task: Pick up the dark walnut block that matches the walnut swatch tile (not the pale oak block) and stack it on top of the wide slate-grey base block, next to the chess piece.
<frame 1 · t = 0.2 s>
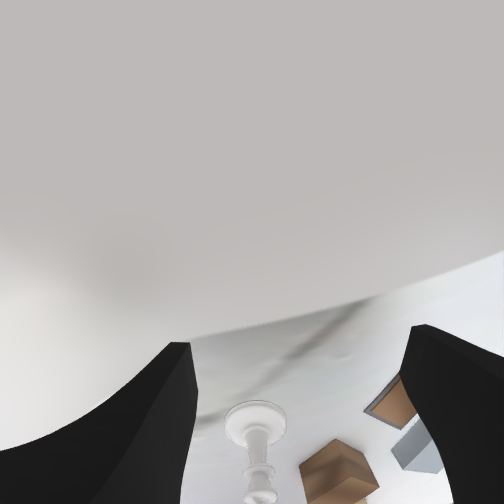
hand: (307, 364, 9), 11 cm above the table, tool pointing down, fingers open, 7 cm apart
chess piece: (255, 421, 21), on the table
base block: (429, 429, 22), on the table
walnut block: (331, 459, 22), on the table
walnut swatch: (404, 397, 21), on the table
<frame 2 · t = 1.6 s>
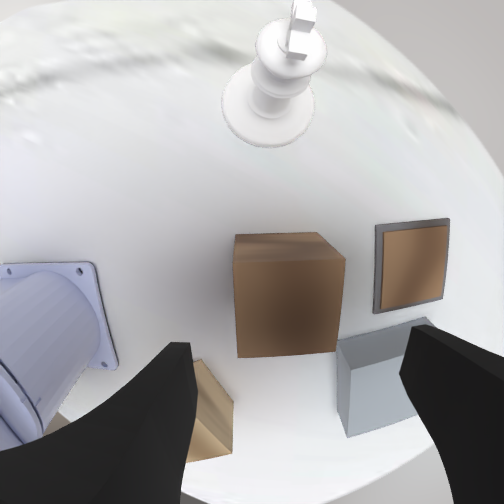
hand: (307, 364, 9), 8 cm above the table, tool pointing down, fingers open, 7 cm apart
chess piece: (267, 104, 14), on the table
oak block: (191, 390, 19), on the table
base block: (379, 364, 19), on the table
walnut block: (276, 271, 17), on the table
walnut swatch: (413, 265, 17), on the table
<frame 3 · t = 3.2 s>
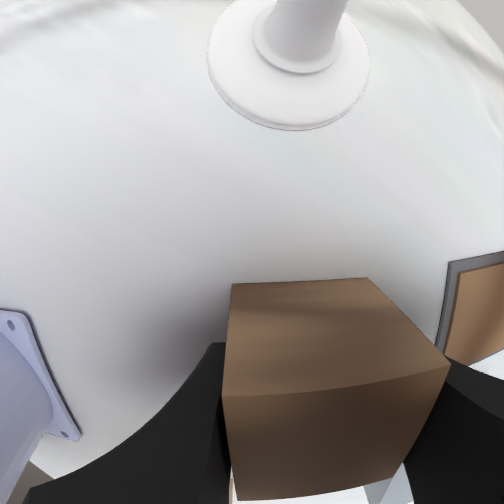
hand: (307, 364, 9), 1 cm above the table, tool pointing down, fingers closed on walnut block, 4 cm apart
chess piece: (288, 58, 8), on the table
base block: (419, 429, 13), on the table
walnut block: (299, 340, 10), on the table, touching gripper
walnut swatch: (483, 313, 10), on the table
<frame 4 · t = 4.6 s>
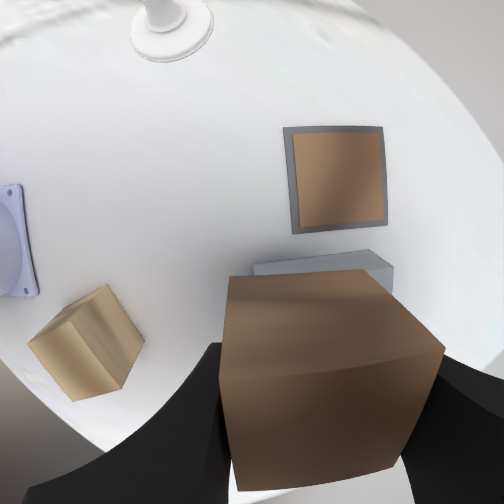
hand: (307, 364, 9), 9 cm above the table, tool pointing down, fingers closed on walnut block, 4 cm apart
chess piece: (171, 28, 13), on the table
oak block: (102, 324, 18), on the table
base block: (314, 308, 18), on the table
walnut block: (297, 332, 10), point 7 cm above the table, touching gripper
walnut swatch: (339, 177, 15), on the table
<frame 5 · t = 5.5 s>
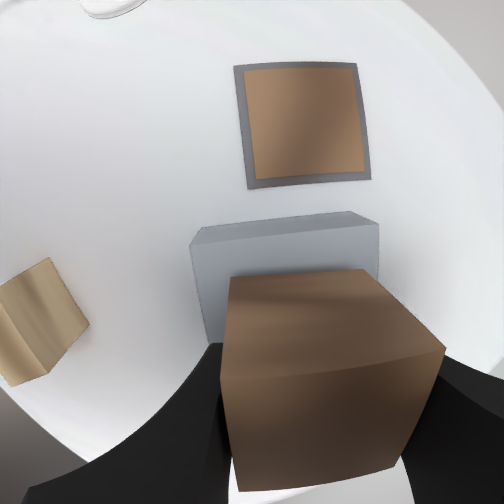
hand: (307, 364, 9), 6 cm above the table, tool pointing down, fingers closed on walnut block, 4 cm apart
oak block: (48, 304, 14), on the table
base block: (283, 286, 15), on the table
walnut block: (298, 332, 10), point 4 cm above the table, touching gripper
walnut swatch: (305, 120, 12), on the table
when the fingers open (6 cm above the table, at t = 6.1 s): walnut block drops 1 cm, resting on base block.
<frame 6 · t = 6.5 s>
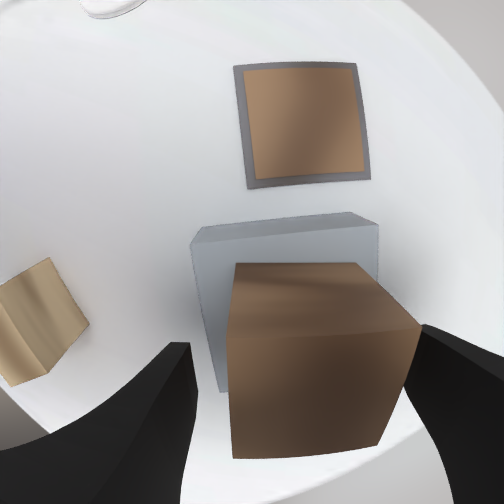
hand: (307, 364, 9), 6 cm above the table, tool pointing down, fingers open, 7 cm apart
oak block: (48, 304, 14), on the table
base block: (283, 286, 15), on the table, touching walnut block
walnut block: (294, 317, 11), point 3 cm above the table, touching base block
walnut swatch: (304, 120, 12), on the table
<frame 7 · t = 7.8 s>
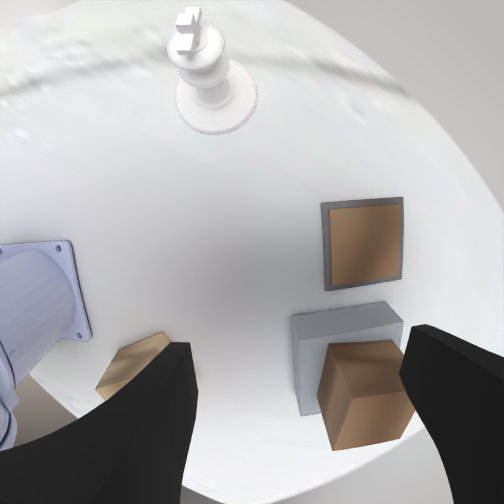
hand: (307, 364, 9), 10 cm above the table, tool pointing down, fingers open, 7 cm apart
chess piece: (216, 96, 16), on the table
oak block: (156, 362, 21), on the table
base block: (337, 346, 21), on the table
walnut block: (354, 369, 17), point 3 cm above the table
walnut swatch: (365, 243, 18), on the table
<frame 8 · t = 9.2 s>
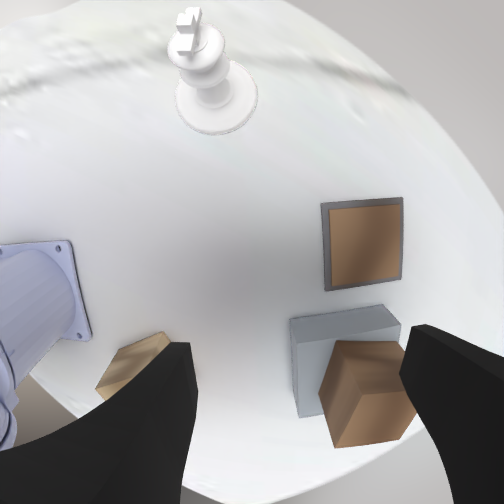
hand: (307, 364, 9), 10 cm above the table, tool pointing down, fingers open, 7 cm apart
chess piece: (216, 96, 16), on the table
oak block: (156, 362, 21), on the table
base block: (335, 348, 21), on the table, touching walnut block
walnut block: (357, 368, 18), point 3 cm above the table, touching base block
walnut swatch: (365, 243, 18), on the table
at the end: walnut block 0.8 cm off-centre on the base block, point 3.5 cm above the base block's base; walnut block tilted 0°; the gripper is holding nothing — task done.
